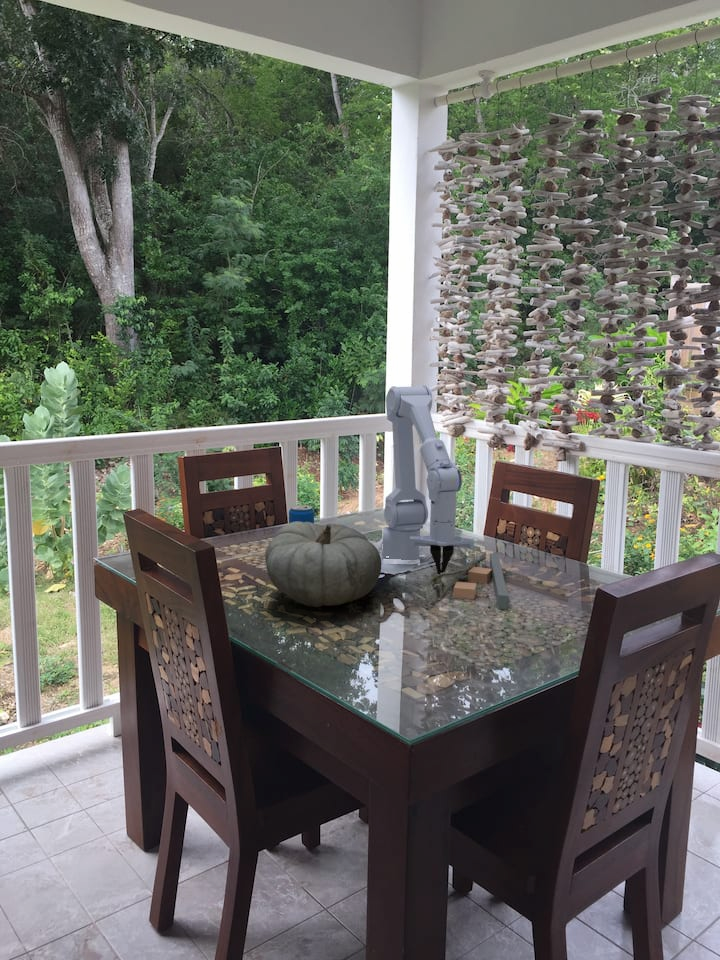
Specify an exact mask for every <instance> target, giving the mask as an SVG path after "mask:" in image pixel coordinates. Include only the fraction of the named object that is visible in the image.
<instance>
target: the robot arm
mask: <svg viewBox="0 0 720 960" xmlns="http://www.w3.org/2000/svg"><path fill="white" fill-rule="evenodd" d="M385 405H386V406H385V407H386V419H387V421H390V422H391V425H392V442H393V447H392V448H393V459H394V460H393V462H394V482H395V484H394V485H395V489H394V490H393V491H391V492H390V493H389V494H388V495H387V496H385V500H384V501H385V504H384V505H385V507H384V508H383V509H384V510H383V514H384V515H383V516H384V517H383V518H384V521H385V523H386V525H387V526H385V527H383V531H382V549H381V560H382V559H401V560H417V559H420V554H421V553H420V550H421V549H420V547H429V548H430V549H429V551H430V555H431V557H432V559H433V561H434V565H435V567H436V571H437V573H436V574H440V573H443V572H446V570H447V567H448V564H449V562H450V560H451V558H452V556H453V555H454V552H455V551H454V548H460V549H470V550H475V538H469V537H459V536H456V519H457V518H456V515H457V514H456V513H457V492H459V491H460V490H461V489H462V487H463V486H462V485H463V476H462V473H461V469H460V468H459V467H458V466H456V465H455V463H454V462H452V461H451V458H450V456H449V453H448V451H447V448H446V445H445V442H444V441H443V440H442V439H439V438H438V436H437V433H436V430H435V425H434V421H433V419H432V418H433V417H432V414H431V410H432V407H433V394H432V391H431V389H430V387H428V385H421V386H419V385H418V386H393V385H392V386H391V387H390V388H389V390H388V391H387V394H386V397H385ZM413 426H414V427H413ZM413 428H415V430H416V432H417V434H418V436H419V439H420V441H421V443H422V444H421V446H420V449H419V450H420V451H419V452H420V454H421V458H422V460H423V463H424V466H425V468H426V472H427V477H426V488H427V490H428V499H429V500H430V512H429V510H428V506H427V501H426V495H425V494H423V492H421V491H419V490H418V489H417V487H416V486H417V485H416V471H415V470H416V467H415V448H414V446H415V445H414V431H413V430H414V429H413ZM410 500H411V501H410ZM429 513H430V514H429ZM428 518H429V519H430V521H429V535H421V529H423V528H424V525H426V523H427V522H428ZM386 556H389V558H386ZM441 561H442V562H441Z"/></svg>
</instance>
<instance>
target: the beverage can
mask: <svg viewBox="0 0 720 960" xmlns="http://www.w3.org/2000/svg"><path fill="white" fill-rule="evenodd" d="M296 521H299V522H310V523H314V524H315V511H314V509H313V506H312V505H308V504H296V505H295V504H294V505H291V506H290V509H289V511H288V524H289V523H291V522H296Z"/></svg>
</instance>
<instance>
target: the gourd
mask: <svg viewBox="0 0 720 960" xmlns="http://www.w3.org/2000/svg"><path fill="white" fill-rule="evenodd" d="M264 560H265V564H266V571H267V576H268V577H269V579H270V581H271V583H272V584H273V585H274V587H276V588H275V589H277V590H278V591H279V592H281V593H283V595H285V596H287V597H289V598H290V599H292V600H293V601H295V602H296V603H299V604H300V605H304V606H306V607H314V608H320V607H323V606H326V607H327V606H329V607H330V606H335V607H336V606H339V605H342V604H345V603H351V602H353V601H355V600H359V599H361V598H364V596H366V595H368V594H369V593H370V592H371V591H373V589H374V587H375V586H376V584H377V583H378V580H379V578H380V576H381V572H382V556H381V555H380V551H379V550H378V548H377V547H376V546H375V545H374V544H373V543H372V542H371V541H370V540H369V539H368V538H367V537H366V536H365V535H364V534H363V533H361V532H360V531H358V530H357V529H354V528H353V527H349V526H347V525H343V524H336V523H326V524H323V525H322V524H318V523H315V522H314V523H310V522H299V521H296V522H291V523H289V522H288V523H286V524H284V525H282V526H281V527H280V528H279V530H278V531H277V532H276V533H275V535H274V537H273V538H272V539H271V540H270V542H269V543H268V545H267V547H266V550H265V559H264Z"/></svg>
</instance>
